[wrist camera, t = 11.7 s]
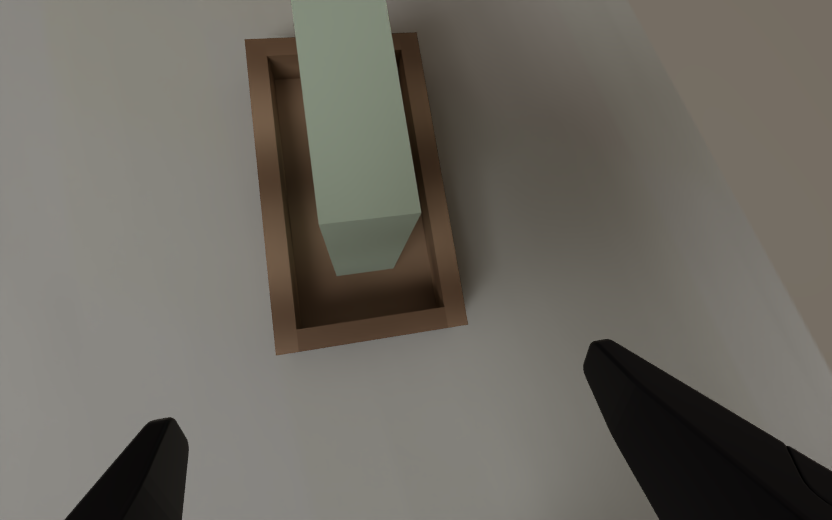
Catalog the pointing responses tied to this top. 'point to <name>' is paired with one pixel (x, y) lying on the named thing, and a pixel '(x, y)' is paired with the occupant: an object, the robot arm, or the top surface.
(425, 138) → the brown wooden tray
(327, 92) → the pale green rectangular block
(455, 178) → the top surface
